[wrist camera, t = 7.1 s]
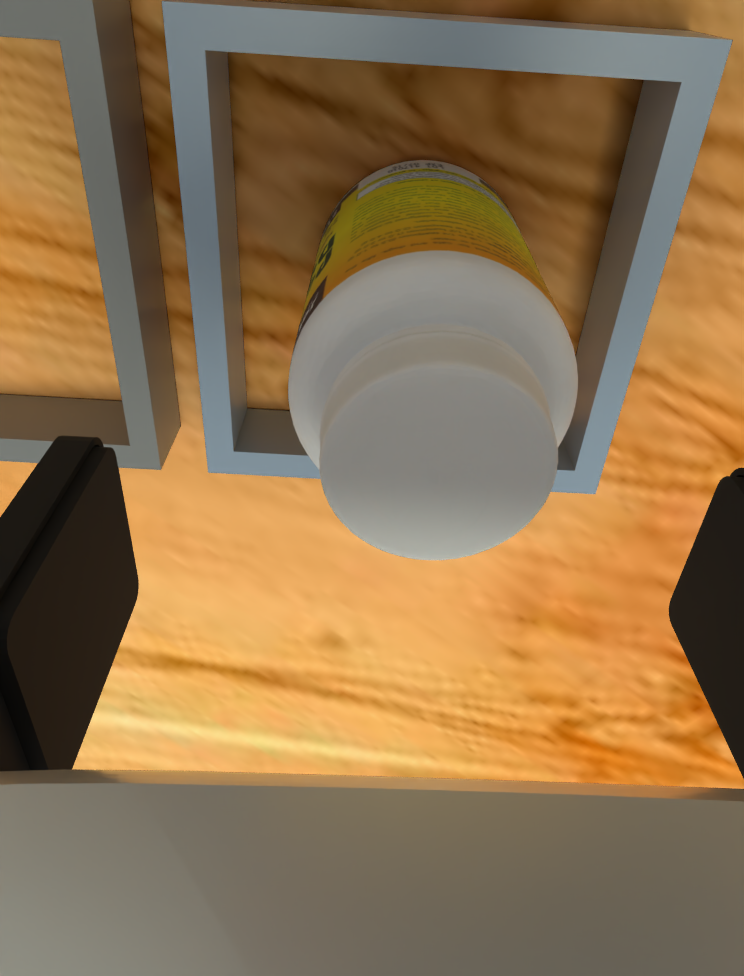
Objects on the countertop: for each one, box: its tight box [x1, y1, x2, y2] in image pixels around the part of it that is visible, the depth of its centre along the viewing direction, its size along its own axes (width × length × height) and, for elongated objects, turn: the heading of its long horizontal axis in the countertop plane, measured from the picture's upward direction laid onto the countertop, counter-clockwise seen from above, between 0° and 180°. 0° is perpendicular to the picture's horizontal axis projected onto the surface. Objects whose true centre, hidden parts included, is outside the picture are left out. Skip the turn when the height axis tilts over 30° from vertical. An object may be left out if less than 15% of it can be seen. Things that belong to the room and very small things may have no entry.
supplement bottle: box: [288, 160, 578, 560], centre depth 16 cm, size 6×6×10 cm
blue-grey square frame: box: [162, 0, 733, 494], centre depth 19 cm, size 12×12×2 cm
